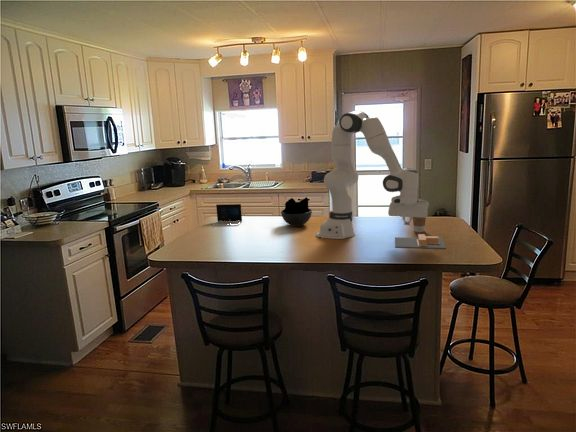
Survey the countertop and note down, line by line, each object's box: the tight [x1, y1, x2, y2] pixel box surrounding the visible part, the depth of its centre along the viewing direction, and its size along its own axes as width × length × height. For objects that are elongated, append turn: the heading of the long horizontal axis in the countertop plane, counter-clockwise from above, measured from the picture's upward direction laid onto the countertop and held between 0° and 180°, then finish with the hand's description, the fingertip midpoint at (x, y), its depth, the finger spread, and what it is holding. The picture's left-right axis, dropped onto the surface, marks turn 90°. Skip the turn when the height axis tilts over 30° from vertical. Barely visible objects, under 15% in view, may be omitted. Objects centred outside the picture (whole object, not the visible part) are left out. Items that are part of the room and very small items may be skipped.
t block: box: [417, 233, 440, 245], centre depth 225 cm, size 10×11×3 cm
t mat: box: [394, 236, 447, 250], centre depth 226 cm, size 25×18×1 cm
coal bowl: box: [280, 196, 313, 227], centre depth 275 cm, size 20×20×19 cm
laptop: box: [211, 203, 243, 227], centre depth 290 cm, size 18×12×13 cm
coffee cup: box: [412, 217, 427, 233], centre depth 249 cm, size 8×8×15 cm
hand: (407, 224), depth 226 cm, fingers closed
